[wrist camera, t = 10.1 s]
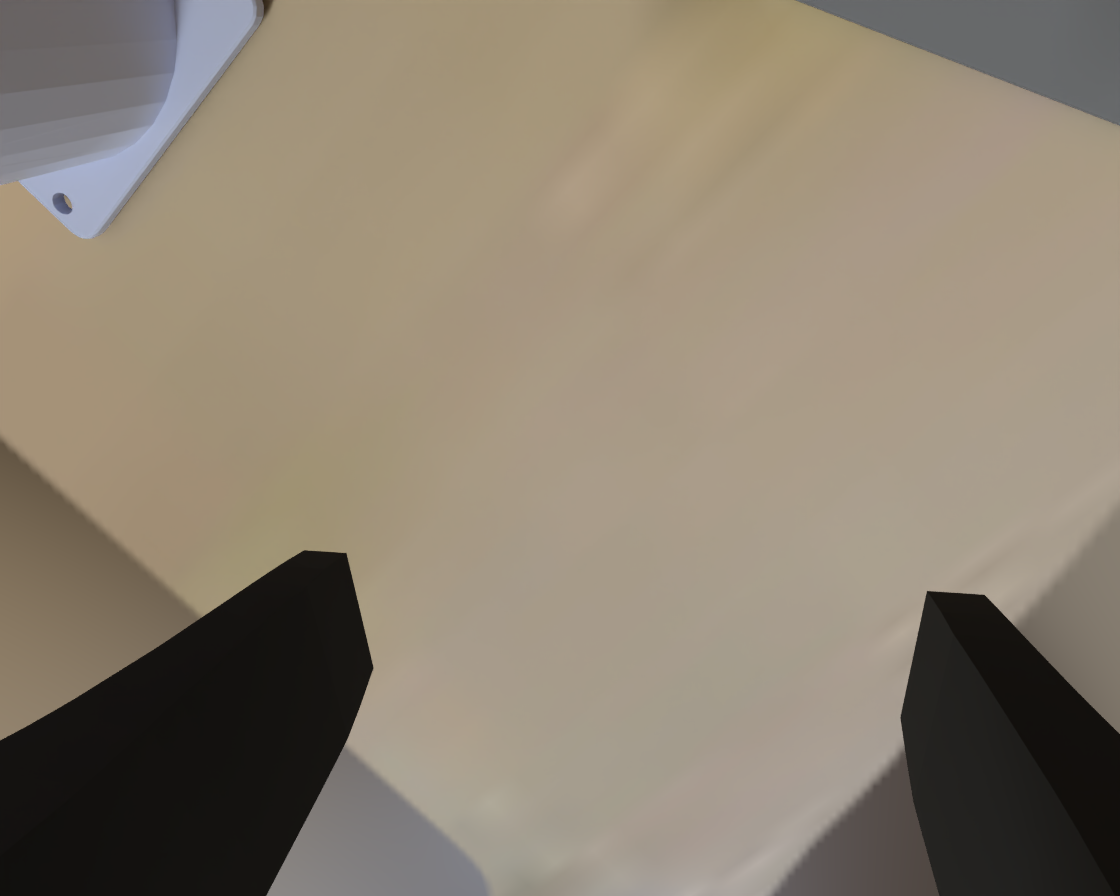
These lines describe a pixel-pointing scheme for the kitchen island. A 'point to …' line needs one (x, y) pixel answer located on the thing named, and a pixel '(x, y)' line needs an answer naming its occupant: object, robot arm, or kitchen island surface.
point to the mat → (1011, 41)
